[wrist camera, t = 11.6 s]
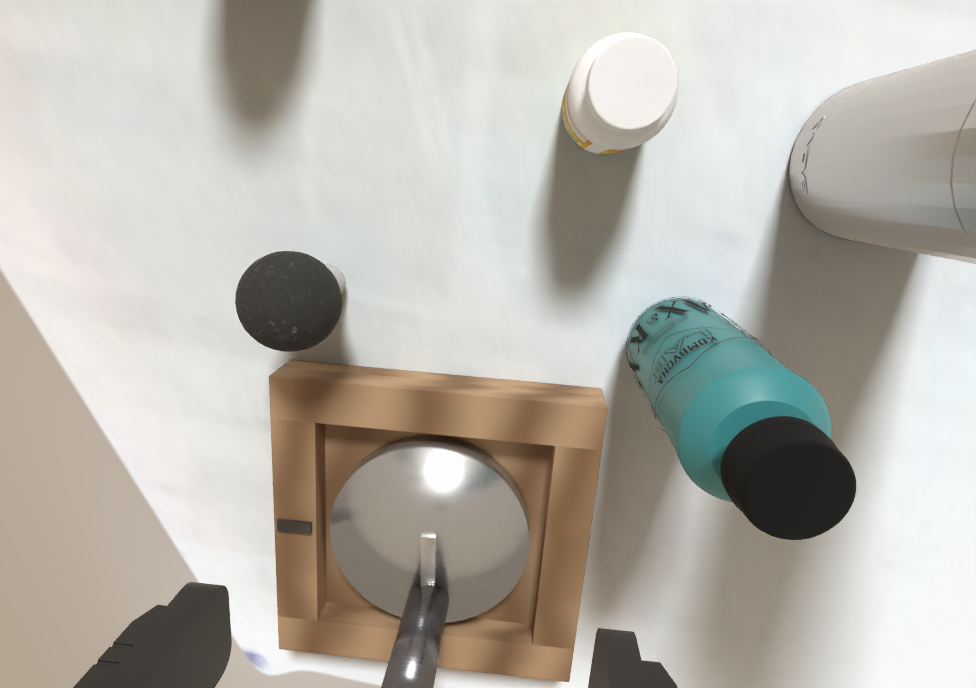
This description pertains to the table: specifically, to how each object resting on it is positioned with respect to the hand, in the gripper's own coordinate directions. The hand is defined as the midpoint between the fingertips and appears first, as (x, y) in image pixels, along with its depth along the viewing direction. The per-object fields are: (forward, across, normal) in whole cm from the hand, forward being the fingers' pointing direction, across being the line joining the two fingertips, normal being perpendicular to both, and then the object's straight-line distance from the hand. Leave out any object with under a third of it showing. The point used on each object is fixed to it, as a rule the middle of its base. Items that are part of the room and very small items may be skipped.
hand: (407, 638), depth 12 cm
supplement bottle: (+28, -6, -14) cm, 32 cm away
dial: (+27, +3, +15) cm, 31 cm away
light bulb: (+28, +11, -2) cm, 30 cm away
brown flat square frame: (+28, +3, +15) cm, 32 cm away
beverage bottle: (+28, -12, 0) cm, 31 cm away
